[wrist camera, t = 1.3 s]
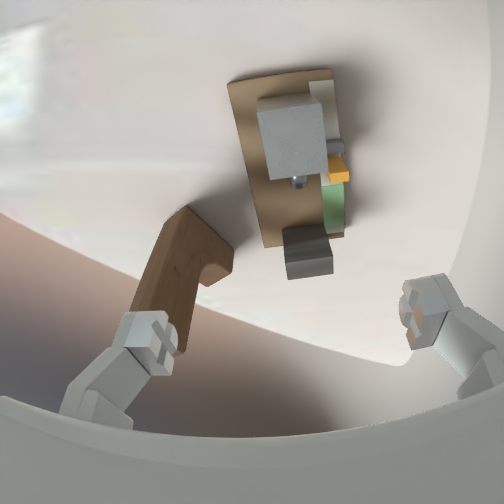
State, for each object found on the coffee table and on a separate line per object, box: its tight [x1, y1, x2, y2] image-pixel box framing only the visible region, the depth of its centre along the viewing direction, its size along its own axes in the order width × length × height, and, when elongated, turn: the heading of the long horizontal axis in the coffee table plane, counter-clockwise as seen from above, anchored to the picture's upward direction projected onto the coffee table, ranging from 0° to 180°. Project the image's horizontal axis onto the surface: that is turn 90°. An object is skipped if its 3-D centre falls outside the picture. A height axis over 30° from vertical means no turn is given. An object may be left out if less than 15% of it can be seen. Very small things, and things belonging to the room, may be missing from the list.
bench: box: [227, 69, 345, 280], centre depth 28 cm, size 20×10×8 cm, turn 11°
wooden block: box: [129, 206, 234, 358], centre depth 31 cm, size 9×4×18 cm, turn 39°
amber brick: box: [326, 156, 349, 183], centre depth 28 cm, size 1×2×4 cm, turn 102°
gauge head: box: [256, 92, 345, 189], centre depth 25 cm, size 8×8×6 cm
